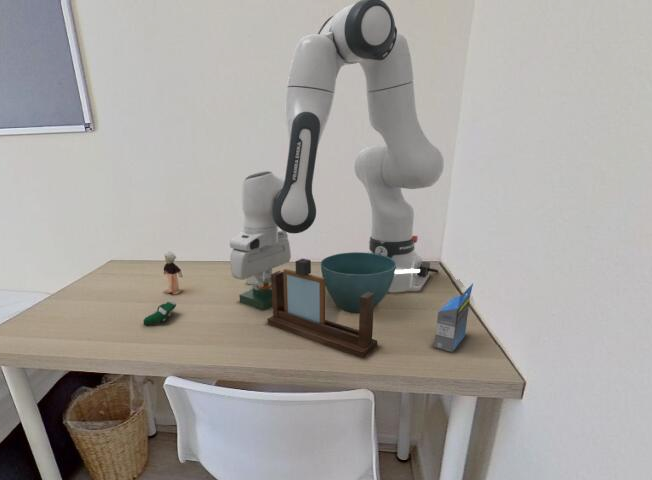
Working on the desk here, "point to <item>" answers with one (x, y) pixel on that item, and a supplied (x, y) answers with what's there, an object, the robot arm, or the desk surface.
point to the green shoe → (160, 313)
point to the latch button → (265, 287)
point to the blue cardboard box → (452, 322)
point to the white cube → (253, 279)
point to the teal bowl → (357, 278)
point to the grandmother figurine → (172, 273)
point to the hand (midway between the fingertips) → (263, 285)
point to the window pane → (304, 292)
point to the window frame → (328, 332)
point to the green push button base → (257, 297)
